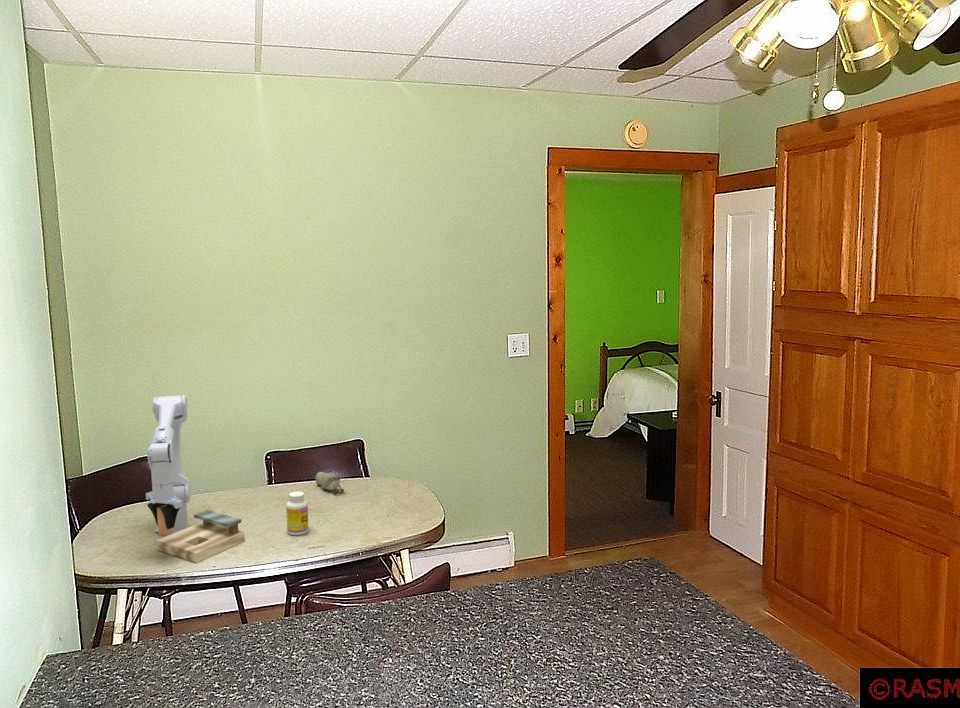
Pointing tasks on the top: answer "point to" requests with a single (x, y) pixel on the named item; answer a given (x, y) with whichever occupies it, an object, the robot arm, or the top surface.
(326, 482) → the decorative bird
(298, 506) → the supplement bottle
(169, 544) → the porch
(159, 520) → the peg
